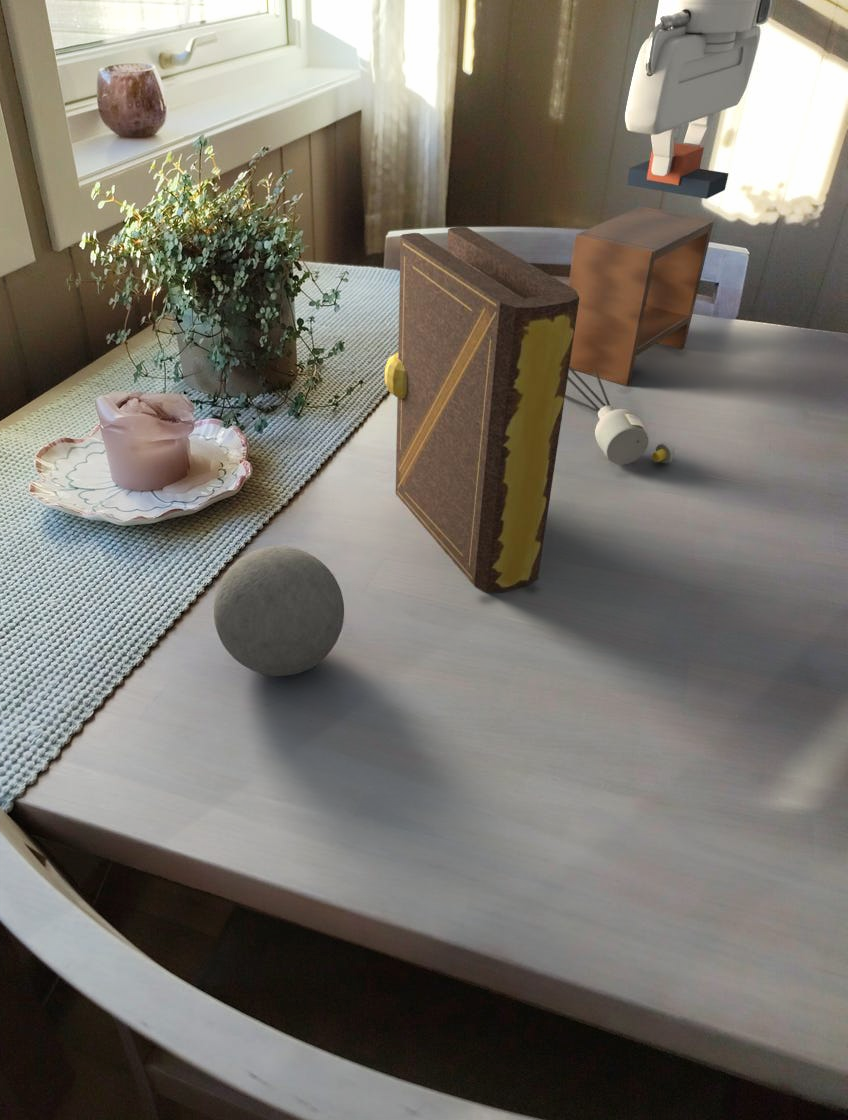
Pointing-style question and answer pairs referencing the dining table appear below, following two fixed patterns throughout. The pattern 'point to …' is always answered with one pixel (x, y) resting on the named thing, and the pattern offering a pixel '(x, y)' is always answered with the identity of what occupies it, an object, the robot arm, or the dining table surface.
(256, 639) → the decorative ball
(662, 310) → the rack
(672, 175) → the cube on dark base
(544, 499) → the book
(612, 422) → the reed diffuser
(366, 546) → the dining table surface
